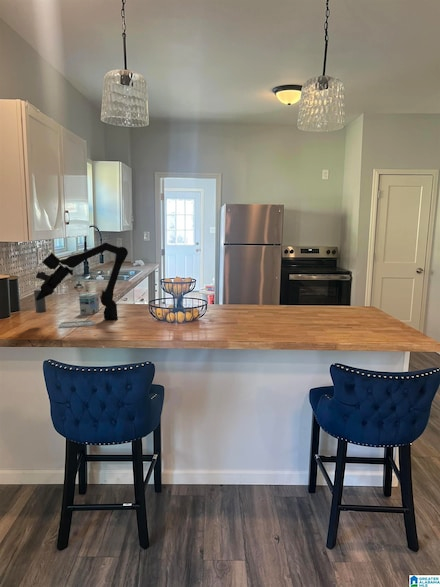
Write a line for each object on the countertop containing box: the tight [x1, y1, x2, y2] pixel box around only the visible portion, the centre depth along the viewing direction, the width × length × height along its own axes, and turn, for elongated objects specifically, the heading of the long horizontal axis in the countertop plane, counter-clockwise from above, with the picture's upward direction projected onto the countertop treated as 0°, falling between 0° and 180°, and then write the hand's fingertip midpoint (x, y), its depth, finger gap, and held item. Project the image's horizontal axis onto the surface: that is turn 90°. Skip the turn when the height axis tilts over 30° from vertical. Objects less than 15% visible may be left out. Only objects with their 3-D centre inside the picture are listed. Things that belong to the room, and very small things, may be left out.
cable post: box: [33, 289, 47, 314], centre depth 208 cm, size 5×5×11 cm
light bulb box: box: [78, 292, 100, 315], centre depth 238 cm, size 11×7×11 cm, turn 168°
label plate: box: [58, 319, 95, 329], centre depth 210 cm, size 16×10×1 cm, turn 104°
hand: (36, 299), depth 208 cm, fingers closed on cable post, 5 cm apart
